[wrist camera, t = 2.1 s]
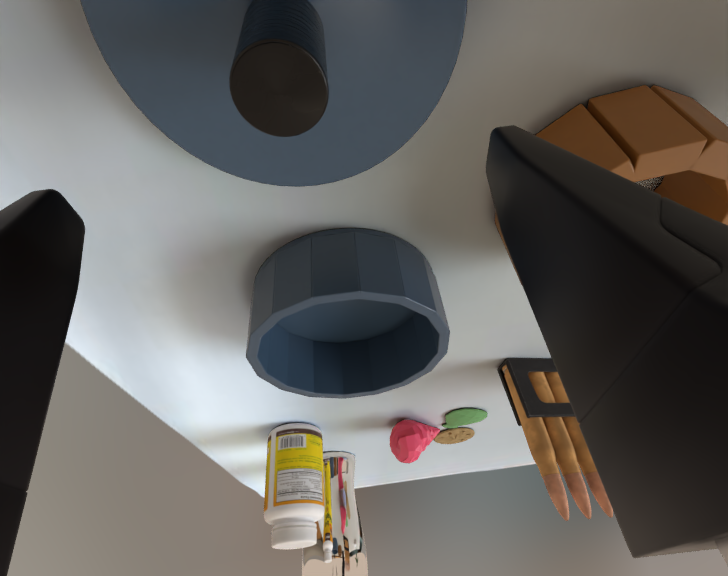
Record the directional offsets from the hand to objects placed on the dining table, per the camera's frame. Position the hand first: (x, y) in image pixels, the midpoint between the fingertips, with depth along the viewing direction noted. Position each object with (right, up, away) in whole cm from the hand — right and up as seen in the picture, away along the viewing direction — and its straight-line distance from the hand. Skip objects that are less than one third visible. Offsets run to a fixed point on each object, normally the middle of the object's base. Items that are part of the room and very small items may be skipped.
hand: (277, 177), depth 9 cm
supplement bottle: (-5, -17, +34) cm, 39 cm away
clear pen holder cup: (-2, -23, +43) cm, 49 cm away
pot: (+1, -3, +17) cm, 18 cm away
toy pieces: (+9, -18, +37) cm, 42 cm away
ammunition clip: (+19, -9, +28) cm, 35 cm away
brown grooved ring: (+13, +3, +12) cm, 18 cm away
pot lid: (-1, +6, +5) cm, 8 cm away
